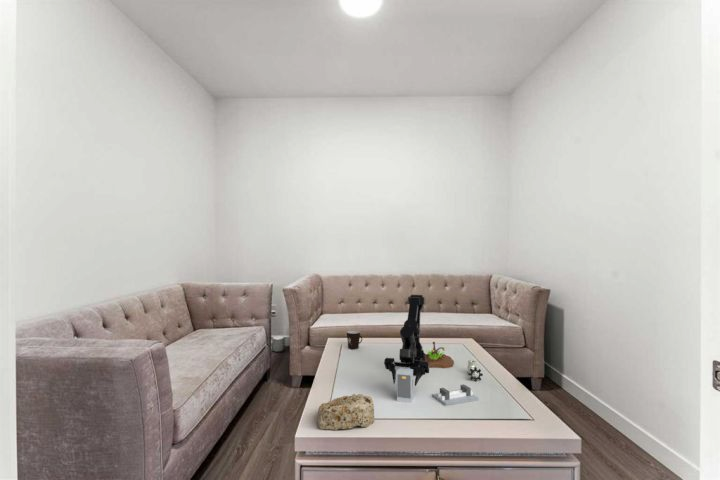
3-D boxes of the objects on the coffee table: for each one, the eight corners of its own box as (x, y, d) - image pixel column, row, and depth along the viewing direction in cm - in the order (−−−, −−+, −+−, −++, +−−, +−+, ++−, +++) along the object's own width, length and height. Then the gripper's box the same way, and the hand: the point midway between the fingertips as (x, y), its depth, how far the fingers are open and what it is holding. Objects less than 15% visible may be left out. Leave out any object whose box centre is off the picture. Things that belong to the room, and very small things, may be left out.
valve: (464, 372, 184) (468, 381, 172) (464, 359, 184) (468, 367, 172) (477, 373, 183) (482, 382, 171) (477, 360, 183) (482, 367, 171)
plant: (451, 358, 209) (450, 338, 209) (456, 369, 190) (455, 347, 190) (415, 357, 211) (415, 337, 212) (417, 367, 192) (417, 346, 192)
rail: (445, 406, 145) (445, 395, 145) (432, 396, 154) (432, 386, 154) (478, 400, 150) (478, 389, 150) (463, 391, 160) (463, 381, 160)
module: (399, 396, 154) (398, 367, 154) (413, 398, 152) (413, 369, 153) (396, 401, 149) (396, 372, 149) (411, 403, 147) (411, 373, 147)
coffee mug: (344, 346, 232) (345, 331, 233) (357, 345, 235) (357, 330, 235) (349, 351, 221) (349, 335, 222) (363, 350, 224) (363, 334, 224)
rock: (318, 437, 123) (315, 405, 125) (319, 427, 137) (316, 398, 139) (378, 427, 125) (374, 395, 127) (373, 418, 139) (369, 390, 141)
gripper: (385, 338, 158) (379, 372, 147) (428, 341, 153) (426, 377, 142) (388, 352, 165) (383, 385, 154) (430, 355, 160) (428, 390, 149)
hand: (404, 384), depth 150 cm, fingers open, 8 cm apart
